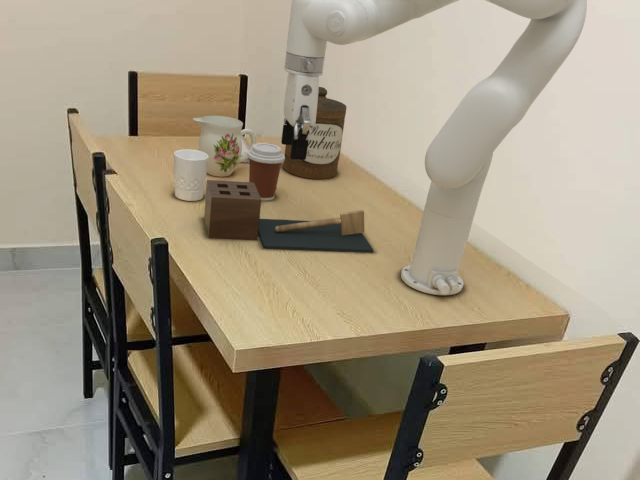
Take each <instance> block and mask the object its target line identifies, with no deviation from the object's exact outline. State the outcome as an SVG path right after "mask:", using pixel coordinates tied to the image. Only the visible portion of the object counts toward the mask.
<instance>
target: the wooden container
mask: <svg viewBox="0 0 640 480" xmlns="http://www.w3.org/2000/svg"><path fill="white" fill-rule="evenodd" d="M327 95H328V90H327V89H326V88H325V87H323V86H319V91H318V103H317V113H316V123H315V127H314V128H310V127H309V130H310V132H309V141H308V148H307V156H306V159H305V160H299V159H291V158H290V153H291V145H285V147H284V156H285V161H283V164H282V167H283V169H284V170H285V171H286V172H287V173H289V174H291V175H293V176H297V177H300V178H305V179H311V180H327V179H331V178H333V177H336V176H337V173H338V167H339V161H340V156H341V149H342V143H343V134H344V127H345V122H346V121H345V119H346V114H347V105H346V104H345V103H344V102H341V101H339V100H335V99H332V98H328V97H327ZM299 129H300V128H299ZM299 129H298V132H299Z"/></svg>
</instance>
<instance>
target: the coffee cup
mask: <svg viewBox="0 0 640 480" xmlns="http://www.w3.org/2000/svg"><path fill="white" fill-rule="evenodd" d="M247 157H248V158H249V159H250V163H249V168H248V172H249V175H248V178H249V179H248V182H253V183H254V184H255V186H256V188H257V191H258V193H259V195H260V197H261V201H265V202H266V201H272V200H274V199H275V197H276V191H277V186H278V182H279V177H280V171H281V166H282V163H284V161H285V153H283V152H282V147H280V146H279V145H277V144H273V143H269V142H256V144H254V145H252V149H250V150H249V151H248V152H247Z"/></svg>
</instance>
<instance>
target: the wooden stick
mask: <svg viewBox="0 0 640 480" xmlns="http://www.w3.org/2000/svg"><path fill="white" fill-rule="evenodd" d="M308 221H309V222H302V223H295V224H288V225H281V226H276V227H275V231H276V232H285V231H292V230H299V229H306V228H313V227H320V226H327V225H334V224H340V226H341V235H342V236H343V235H350V234H357V233H362V234H363V233H365V211H364V209H360V210H353V211H347V212H346V211H345V212H339V216H338V217H331V218H325V219H318V220H308Z"/></svg>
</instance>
